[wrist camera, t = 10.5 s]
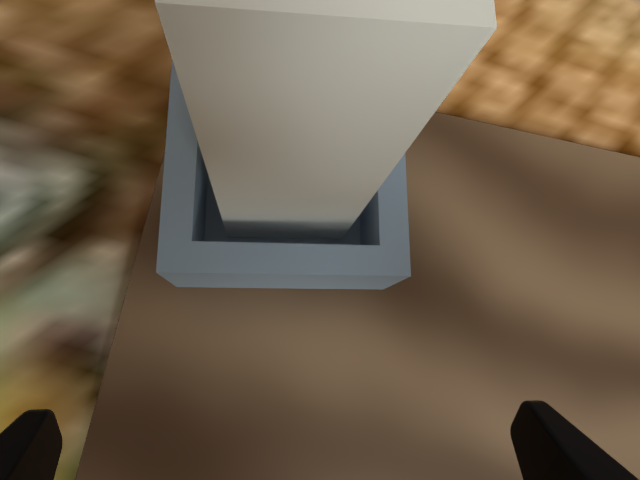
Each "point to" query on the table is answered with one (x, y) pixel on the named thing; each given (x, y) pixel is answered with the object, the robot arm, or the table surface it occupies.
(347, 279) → the socket cup
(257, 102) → the tower
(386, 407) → the walnut board
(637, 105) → the table surface
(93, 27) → the table surface
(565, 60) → the table surface
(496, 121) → the table surface
